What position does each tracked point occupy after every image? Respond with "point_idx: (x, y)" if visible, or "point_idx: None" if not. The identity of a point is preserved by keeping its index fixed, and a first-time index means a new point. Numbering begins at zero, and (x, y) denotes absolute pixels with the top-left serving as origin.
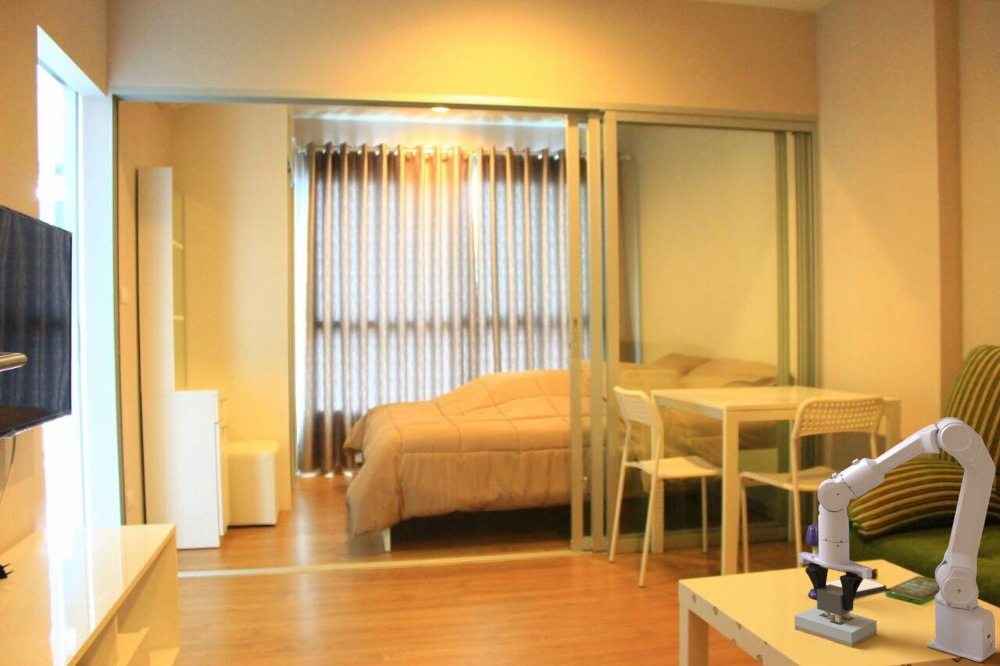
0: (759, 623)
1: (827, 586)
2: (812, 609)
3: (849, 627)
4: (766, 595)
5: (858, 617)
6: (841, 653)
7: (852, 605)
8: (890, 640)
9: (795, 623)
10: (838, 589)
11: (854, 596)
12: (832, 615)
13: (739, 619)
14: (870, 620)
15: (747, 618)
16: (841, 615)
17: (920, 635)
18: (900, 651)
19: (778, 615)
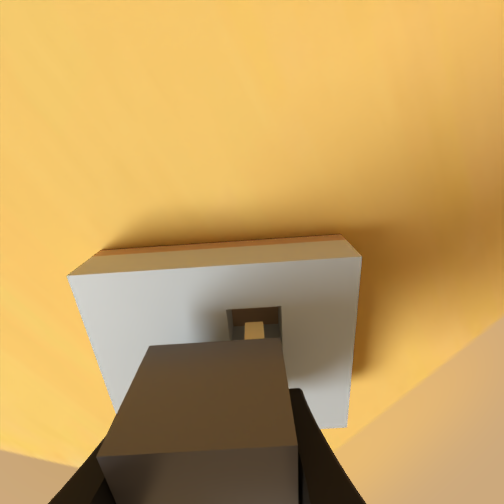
0: (59, 431)
1: (129, 494)
2: (106, 353)
3: (317, 397)
4: None
5: (285, 285)
6: (331, 428)
7: (306, 402)
8: (401, 244)
9: None
10: (217, 490)
11: (330, 453)
12: (197, 341)
13: (9, 446)
14: (341, 276)
15: (9, 428)
16: (223, 321)
17: (489, 77)
18: (458, 304)
19: (18, 347)
